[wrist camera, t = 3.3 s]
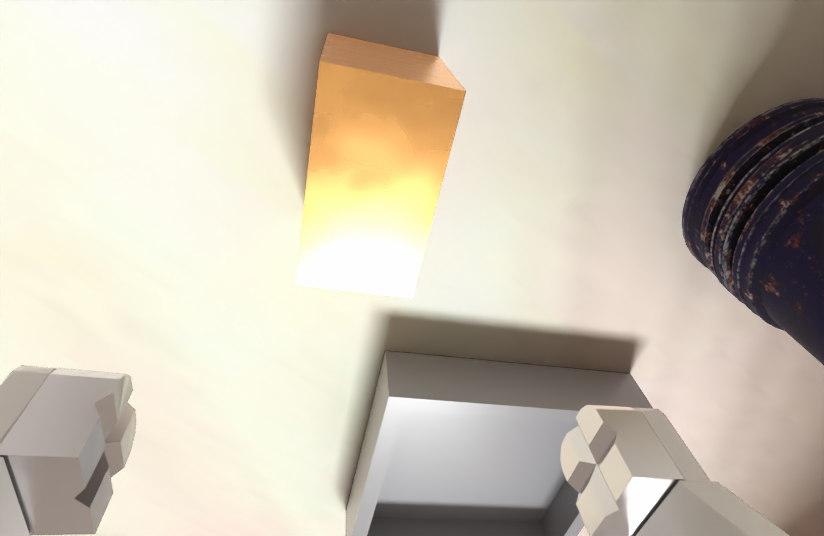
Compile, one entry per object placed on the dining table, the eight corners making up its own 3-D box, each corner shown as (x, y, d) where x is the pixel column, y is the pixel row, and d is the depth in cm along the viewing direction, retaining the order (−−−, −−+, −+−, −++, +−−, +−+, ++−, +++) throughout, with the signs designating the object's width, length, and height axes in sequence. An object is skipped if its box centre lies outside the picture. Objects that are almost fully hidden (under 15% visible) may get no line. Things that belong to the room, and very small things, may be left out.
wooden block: (437, 56, 20) (466, 91, 15) (399, 226, 24) (412, 298, 19) (328, 32, 19) (319, 60, 14) (307, 213, 24) (295, 284, 18)
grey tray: (630, 373, 32) (658, 417, 29) (543, 517, 40) (559, 562, 37) (385, 350, 28) (388, 396, 26) (345, 511, 37) (345, 560, 34)
